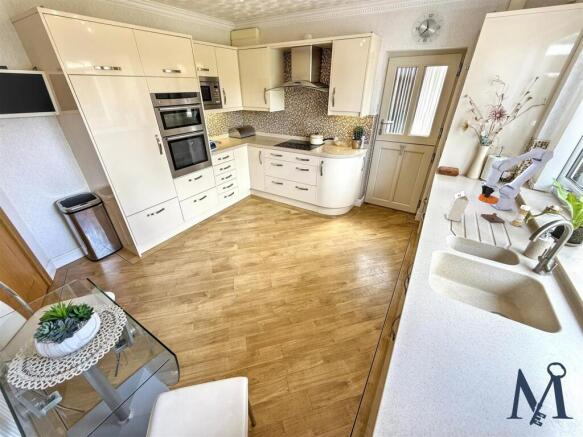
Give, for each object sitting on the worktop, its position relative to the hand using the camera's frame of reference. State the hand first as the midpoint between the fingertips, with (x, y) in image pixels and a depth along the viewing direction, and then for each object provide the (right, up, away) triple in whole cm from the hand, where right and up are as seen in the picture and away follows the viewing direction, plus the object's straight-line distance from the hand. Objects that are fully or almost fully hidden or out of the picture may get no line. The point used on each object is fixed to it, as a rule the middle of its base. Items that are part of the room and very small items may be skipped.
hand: (484, 196), depth 167 cm
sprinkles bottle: (+6, -20, -16) cm, 26 cm away
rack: (-4, -16, -11) cm, 20 cm away
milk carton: (-32, -16, -12) cm, 37 cm away
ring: (0, -3, -3) cm, 4 cm away
